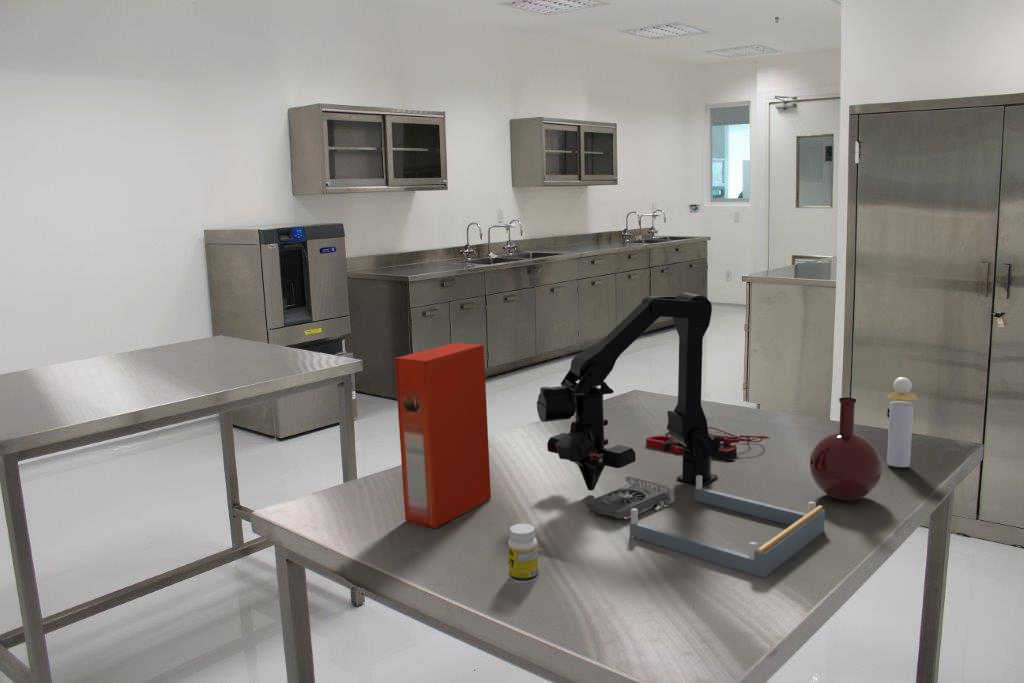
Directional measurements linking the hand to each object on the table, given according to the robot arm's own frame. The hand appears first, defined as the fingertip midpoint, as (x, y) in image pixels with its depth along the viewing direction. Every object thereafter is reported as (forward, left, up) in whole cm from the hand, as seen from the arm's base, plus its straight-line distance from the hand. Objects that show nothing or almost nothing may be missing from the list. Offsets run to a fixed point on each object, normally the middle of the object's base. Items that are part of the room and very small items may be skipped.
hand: (591, 489), depth 167 cm
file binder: (+24, -17, -1) cm, 29 cm away
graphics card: (+1, +9, -2) cm, 9 cm away
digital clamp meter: (-45, +1, -2) cm, 45 cm away
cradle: (+1, +30, -1) cm, 30 cm away
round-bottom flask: (-29, +40, -1) cm, 49 cm away
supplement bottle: (+36, +14, -1) cm, 39 cm away
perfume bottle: (-54, +42, -1) cm, 69 cm away
